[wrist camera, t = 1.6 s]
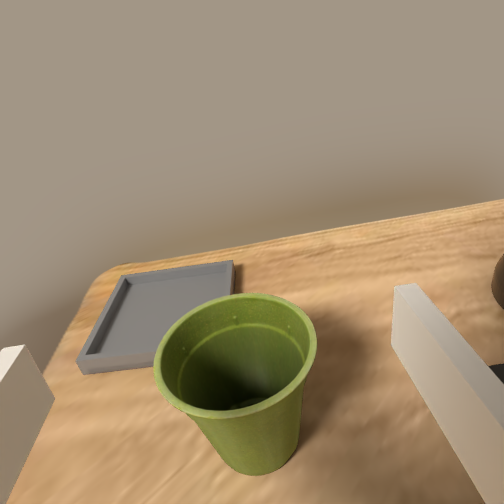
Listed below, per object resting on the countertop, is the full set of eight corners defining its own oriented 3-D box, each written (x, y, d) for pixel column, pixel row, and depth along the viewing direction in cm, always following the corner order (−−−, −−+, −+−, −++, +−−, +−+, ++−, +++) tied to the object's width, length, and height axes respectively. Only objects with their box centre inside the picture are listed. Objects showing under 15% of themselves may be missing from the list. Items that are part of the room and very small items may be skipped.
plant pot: (175, 418, 35) (138, 330, 30) (282, 363, 39) (267, 276, 33) (221, 547, 26) (179, 453, 20) (357, 458, 30) (353, 358, 24)
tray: (126, 287, 57) (121, 275, 56) (235, 272, 56) (232, 259, 55) (83, 374, 42) (75, 361, 41) (229, 357, 41) (226, 342, 40)
